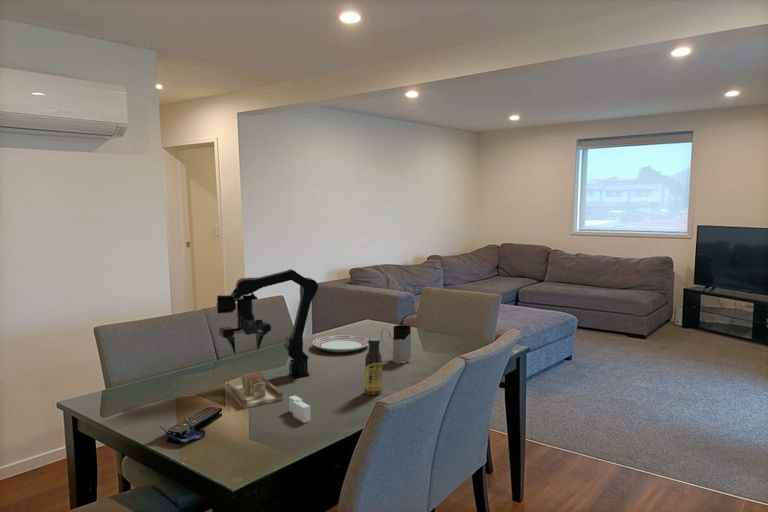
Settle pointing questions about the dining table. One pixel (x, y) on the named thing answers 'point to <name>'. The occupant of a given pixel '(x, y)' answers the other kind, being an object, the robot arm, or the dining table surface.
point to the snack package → (187, 434)
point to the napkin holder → (299, 409)
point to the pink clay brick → (250, 377)
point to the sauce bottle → (373, 368)
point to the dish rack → (255, 393)
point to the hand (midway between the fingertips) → (246, 351)
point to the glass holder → (401, 343)
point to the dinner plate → (340, 343)
